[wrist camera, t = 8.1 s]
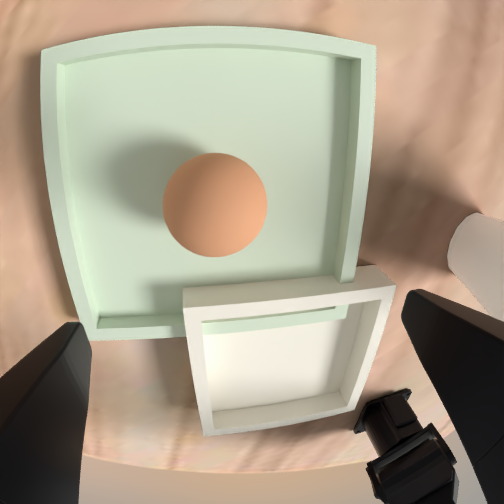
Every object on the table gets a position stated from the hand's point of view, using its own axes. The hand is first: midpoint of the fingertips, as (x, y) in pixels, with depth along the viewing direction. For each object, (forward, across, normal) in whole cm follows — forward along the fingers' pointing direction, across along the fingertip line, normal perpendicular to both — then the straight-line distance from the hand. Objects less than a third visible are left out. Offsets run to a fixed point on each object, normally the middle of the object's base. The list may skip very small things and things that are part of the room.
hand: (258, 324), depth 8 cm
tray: (+12, 0, 0) cm, 12 cm away
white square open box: (+12, -5, +12) cm, 18 cm away
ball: (+8, 0, 0) cm, 9 cm away
